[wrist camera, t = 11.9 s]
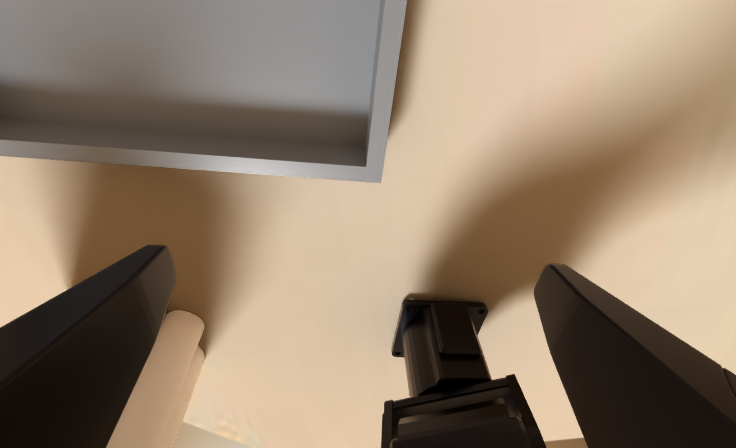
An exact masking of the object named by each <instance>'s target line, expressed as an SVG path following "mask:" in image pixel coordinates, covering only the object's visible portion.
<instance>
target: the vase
mask: <svg viewBox="0 0 736 448" xmlns="http://www.w3.org/2000/svg"><path fill="white" fill-rule="evenodd" d="M204 327H205V326H204V322H203V321H202V320H201V319H200V318H199V317H198V316H196V315H194V314H192V313H190V312H187V311H181V310H176V311H171V312H169V313H168V314H167V315H166V312H165V315H164V318H163V322H162V325H161V328H160V331H159V333H158V336H157V339H156V341H155V344H154V346H153V348H152V351H151V353H150V355H149V357H148V359H147V361H146V363H145V366H144V368H143V370H142V372H141V374H140V376H139V378H138V381H137V383H136V385H135V387H134V389H133V391H132V393H131V396H130V398H129V400H128V402H127V404H126V406H125V408H124V411H123V413H122V415H121V417H120V419H119V421H118V423H117V425H116V428H115V430H114V432H113V434H112V436H111V438H110V440H109V443H108V445H107V447H106V448H173V446H174V443H175V440H176V437H177V435H178V432H179V429H180V426H181V423H182V420H183V418H184V415H185V412H186V409H187V406H188V404H189V401H190V398H191V395H192V392H193V390H194V387H195V384H196V381H197V378H198V376H199V373H200V370H201V367H202V364H203V362H204V358H205V356H204V352H203V351H202V349H201V348H200V347H199V346H198V343H199V341H200V338H201V336H202V333H203V330H204Z"/></svg>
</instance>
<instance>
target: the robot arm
mask: <svg viewBox="0 0 736 448" xmlns="http://www.w3.org/2000/svg"><path fill="white" fill-rule="evenodd" d="M175 282H176V270H175V267H174V263H173V260H172V256H171V252H170V250H169V248H168V247H167V246H164V245H147V246H145V247H143V248H141V249H139V250H138V251H136V252H134V253H132V254H130V255H129V256H127V257H125V258H123V259H122V260H120V261H118V262H116V263H114V264H113V265H111V266H109V267H107V268H106V269H104V270H102V271H100V272H98V273H97V274H95V275H93V276H91V277H89V278H88V279H86V280H84V281H82V282H81V283H79V284H77V285H75V286H73V287H72V288H70V289H68V290H66V291H65V292H63V293H61V294H59V295H57V296H56V297H54V298H52V299H50V300H49V301H47V302H45V303H43V304H41V305H40V306H38V307H36V308H34V309H32V310H31V311H29V312H27V313H25V314H24V315H22V316H20V317H18V318H16V319H15V320H13V321H11V322H9V323H8V324H6V325H4V326H2V327H0V448H106V447H107V445H108V443H109V440H110V438H111V436H112V434H113V432H114V430H115V428H116V425H117V423H118V421H119V419H120V417H121V415H122V413H123V411H124V408H125V406H126V404H127V402H128V400H129V398H130V396H131V393H132V391H133V389H134V387H135V385H136V383H137V381H138V378H139V376H140V374H141V372H142V370H143V368H144V366H145V363H146V361H147V359H148V357H149V355H150V353H151V351H152V348H153V346H154V344H155V341H156V339H157V336H158V333H159V331H160V328H161V325H162V322H163V318H164V315H165V312H166V309H167V306H168V303H169V300H170V297H171V294H172V291H173V288H174V285H175ZM534 297H535V301H536V305H537V308H538V312H539V315H540V319H541V322H542V326H543V330H544V333H545V337H546V340H547V344H548V347H549V350H550V353H551V356H552V358H553V361H554V364H555V366H556V369H557V371H558V374H559V376H560V379H561V381H562V384H563V386H564V389H565V391H566V394H567V396H568V399H569V401H570V404H571V406H572V409H573V411H574V414H575V416H576V419H577V421H578V424H579V426H580V429H581V431H582V434H583V436H584V438H585V441H586V444H587V446H588V448H736V375H735V374H733V373H732V372H730V371H729V370H727V369H725V368H722V367H721V365H719V364H718V363H716V362H715V361H713V360H712V359H710V358H709V357H707V356H706V355H704V354H702V353H701V352H699V351H698V350H696V349H695V348H693V347H692V346H690V345H689V344H687V343H685V342H684V341H682V340H681V339H679V338H678V337H676V336H675V335H673V334H672V333H670V332H668V331H667V330H665V329H664V328H662V327H661V326H659V325H658V324H656V323H655V322H653V321H651V320H650V319H648V318H647V317H645V316H644V315H642V314H641V313H639V312H638V311H636V310H634V309H633V308H631V307H630V306H628V305H627V304H625V303H624V302H622V301H621V300H619V299H617V298H616V297H614V296H613V295H611V294H610V293H608V292H607V291H605V290H604V289H602V288H600V287H599V286H597V285H596V284H594V283H593V282H591V281H590V280H588V279H587V278H585V277H584V276H582V275H580V274H579V273H577V272H576V271H574V270H573V269H571V268H570V267H568V266H566V265H564V264H547V265H546V266H545V267H544V269H543V271H542V273H541V275H540V277H539V279H538V281H537V283H536V285H535V288H534ZM487 313H488V309H487V306H486V304H484V303H468V302H443V301H419V300H407V301H404V302H403V303H402V306H401V311H400V315H399V319H398V323H397V328H396V332H395V336H394V340H393V345H392V355H393V356H394V357H404V358H405V365H406V373H407V380H408V388H409V395H410V398H406V399H401V400H396V401H393V400H389V401H385V403H384V413H383V417H382V441H381V448H546V445H545V443H544V440H543V438H542V435H541V433H540V430H539V428H538V426H537V423H536V421H535V419H534V417H533V415H532V412H531V410H530V408H529V406H528V403H527V401H526V399H525V397H524V394H523V392H522V390H521V388H520V386H519V383H518V381H517V379H516V377H515V374H512V375H507V376H506V377H505V378H500V379H495V380H492V378H491V375H490V372H489V369H488V366H487V363H486V360H485V357H484V354H483V351H482V348H481V345H480V342H479V339H478V336H477V335H478V333H479V331H480V329H481V326H482V324H483V322H484V320H485V317H486V315H487Z"/></svg>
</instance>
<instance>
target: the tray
mask: <svg viewBox="0 0 736 448" xmlns="http://www.w3.org/2000/svg"><path fill="white" fill-rule="evenodd" d="M406 5H407V0H0V156H9V157H23V158H37V159H51V160H65V161H79V162H93V163H107V164H121V165H136V166H150V167H164V168H178V169H192V170H206V171H220V172H234V173H248V174H262V175H276V176H290V177H304V178H318V179H332V180H346V181H360V182H374V183H381V179H382V172H383V165H384V158H385V151H386V144H387V137H388V130H389V123H390V117H391V110H392V103H393V96H394V89H395V82H396V75H397V68H398V61H399V54H400V47H401V40H402V33H403V26H404V19H405V12H406Z"/></svg>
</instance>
